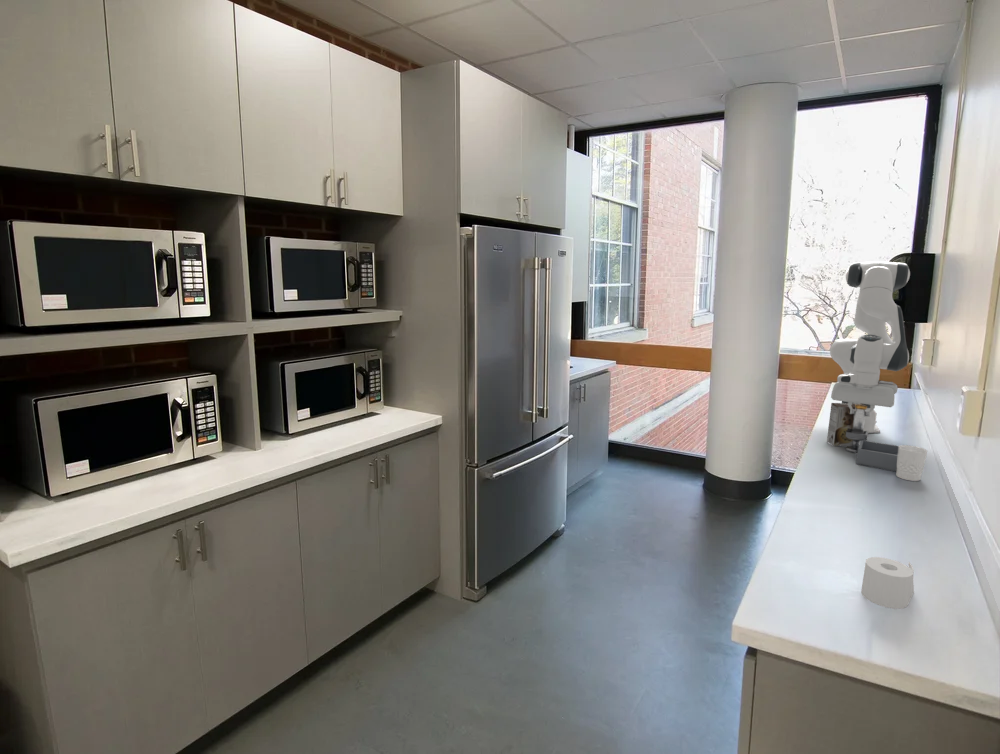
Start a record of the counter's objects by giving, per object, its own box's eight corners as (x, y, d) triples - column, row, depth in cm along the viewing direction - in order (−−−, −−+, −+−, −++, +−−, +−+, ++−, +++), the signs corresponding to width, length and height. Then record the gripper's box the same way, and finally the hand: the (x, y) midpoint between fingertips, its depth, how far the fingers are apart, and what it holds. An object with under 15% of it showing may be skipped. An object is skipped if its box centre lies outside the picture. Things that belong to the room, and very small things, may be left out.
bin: (859, 454, 218) (861, 439, 217) (906, 462, 210) (908, 447, 209) (855, 464, 206) (858, 449, 205) (905, 473, 198) (908, 457, 197)
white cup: (895, 479, 192) (900, 449, 190) (892, 472, 199) (896, 443, 197) (924, 483, 188) (929, 453, 187) (920, 476, 195) (925, 447, 194)
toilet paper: (913, 592, 123) (919, 561, 122) (904, 614, 115) (909, 581, 114) (869, 577, 128) (873, 548, 127) (856, 597, 120) (861, 566, 119)
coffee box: (849, 442, 233) (855, 403, 230) (857, 447, 227) (863, 407, 224) (825, 441, 234) (830, 402, 231) (833, 446, 228) (838, 405, 225)
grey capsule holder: (845, 447, 226) (847, 428, 225) (865, 450, 223) (868, 431, 221) (843, 451, 221) (846, 432, 220) (864, 455, 217) (867, 435, 216)
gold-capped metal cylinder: (850, 434, 224) (855, 403, 221) (863, 436, 221) (868, 405, 219) (849, 436, 220) (854, 405, 218) (862, 438, 218) (867, 407, 216)
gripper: (898, 381, 213) (893, 417, 216) (834, 374, 225) (830, 409, 227) (898, 383, 208) (892, 421, 211) (833, 376, 220) (828, 412, 222)
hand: (859, 415), depth 219 cm, fingers closed on gold-capped metal cylinder, 4 cm apart
